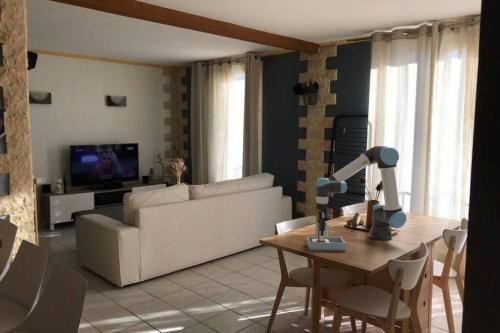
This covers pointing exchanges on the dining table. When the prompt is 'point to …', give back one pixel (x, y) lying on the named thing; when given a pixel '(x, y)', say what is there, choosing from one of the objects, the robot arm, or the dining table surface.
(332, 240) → the crate
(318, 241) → the peg
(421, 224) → the dining table surface
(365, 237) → the dining table surface
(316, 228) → the mug
